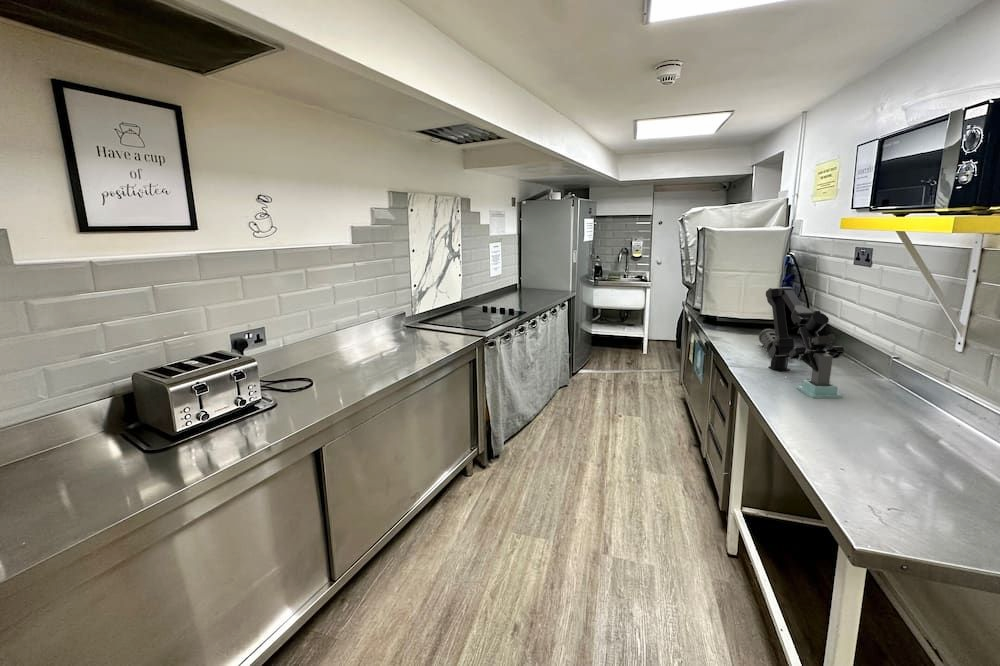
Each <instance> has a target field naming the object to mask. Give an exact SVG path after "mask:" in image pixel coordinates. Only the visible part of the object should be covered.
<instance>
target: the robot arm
mask: <svg viewBox="0 0 1000 666" xmlns="http://www.w3.org/2000/svg"><path fill="white" fill-rule="evenodd" d="M765 297H766V300H767V303H768V304H769V306H771V308H772V316H773V327H774V330H775V335H776V337H775V339H774V341H773V342H772V345H773V346H772V347H771V348H770V349H769V351H768V352H767V354H768V356H769V357H771V359H770V365H769V366H768V367H767V368H768V369H771V370H774V371H777V372H785V371H790V370H791V368H788V362H789V359H791V360H798V359H799V360H800V361H802V362H803V363H805V364H806V365H807V366H809V367H810V368H811V369H813V370H815V371H816V372H817V371H818V367H817V365H816V362H815V360H814V353H827V354H829V355H831V356H833V359H839V358H840V357H841V356H842V355H844V353H846V349H845V348H844V346H841V345H832V343H835V342H836V337H835V335H834V334H832V333H831V334H826V335H819V333H818V332H820V331H821V330H822V329H824V327H825V326H826V325H828V323H829V320H830V319H829V317H828V316H827V315H826V314H824V313H822V312H821V311H820V310H814V311H812V310H811V309H810V308H809V307H805V306H804V305H803V303H802V302H801V300H800V299H799V297H798V296H797V295H796V293H795V290H794V288H793V287H792V286H781V287H769V288H768V289H767V290H766V291H765ZM785 304H786V305H787V307H788V309H789V310H790V312H791V316H790V319H791V321H792V323H793V324H794V325H795V326H800V327H799V328H798V330H797V334H799V335H800V336H801V339H802V343H801V344H802V346H795V343H794V338H793V337H790V335H789V333H788V332H789V331H788V326H787V324H788V323H787V319H786V310H785V309H786V308H785ZM827 345H832V346H831V347H829V349H826V348H827V347H828V346H827Z"/></svg>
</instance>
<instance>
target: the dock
mask: <svg viewBox="0 0 1000 666" xmlns="http://www.w3.org/2000/svg"><path fill="white" fill-rule="evenodd" d="M796 389H797V390H799V391H801V392H802V393H804V394H805V395H807V396H808V397H810V398H812V399H825V398H826V399H831V398H832V399H833V398H834V399H835V398H836V399H840V398H843V395H842V394H841V393H839V392H838V389H839V387H838V386H837V385H835V384H833V383H831V382H829V386H815V385H813V384H811V379H803V380H802V385H797V386H796Z"/></svg>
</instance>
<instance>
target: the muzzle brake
mask: <svg viewBox="0 0 1000 666" xmlns="http://www.w3.org/2000/svg"><path fill="white" fill-rule="evenodd" d="M775 337H776V335H775V329H773V328H764V329H763V330H761V331H760V332H759V333H758V340H759V342H760V344H761V345H762V346H763V347H764V349H765V351H766V352H767V353H768V351H769V349H770V348H771V347H772V346H773V345H772V342H773V341H774V339H775Z"/></svg>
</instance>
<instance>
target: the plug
mask: <svg viewBox="0 0 1000 666" xmlns="http://www.w3.org/2000/svg"><path fill="white" fill-rule="evenodd" d="M833 359H834V358H833V356H831V355H829V354H827V353H814V360H815V362H816V365H817V367H818V371H817V372H816V371H815V370H813V369H812V368H811V369H812V370H811V377H810V380H811V384H813V385H815V386H829V383H830V381H831V380H830V379H831V373H832V364H833Z"/></svg>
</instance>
